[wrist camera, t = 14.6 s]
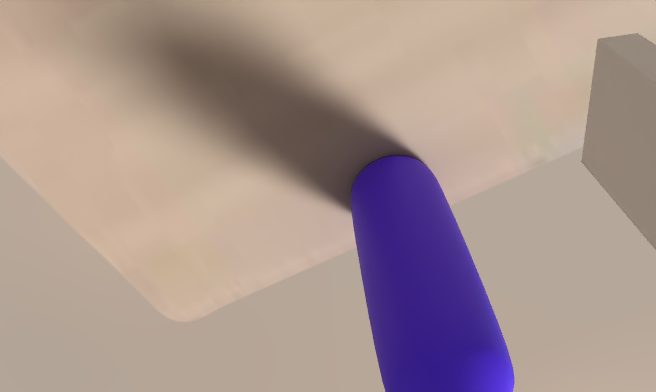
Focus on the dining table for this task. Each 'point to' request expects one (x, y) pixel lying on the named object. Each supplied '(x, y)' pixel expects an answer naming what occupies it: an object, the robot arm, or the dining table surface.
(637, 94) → the robot arm
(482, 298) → the bottle
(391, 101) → the dining table surface
